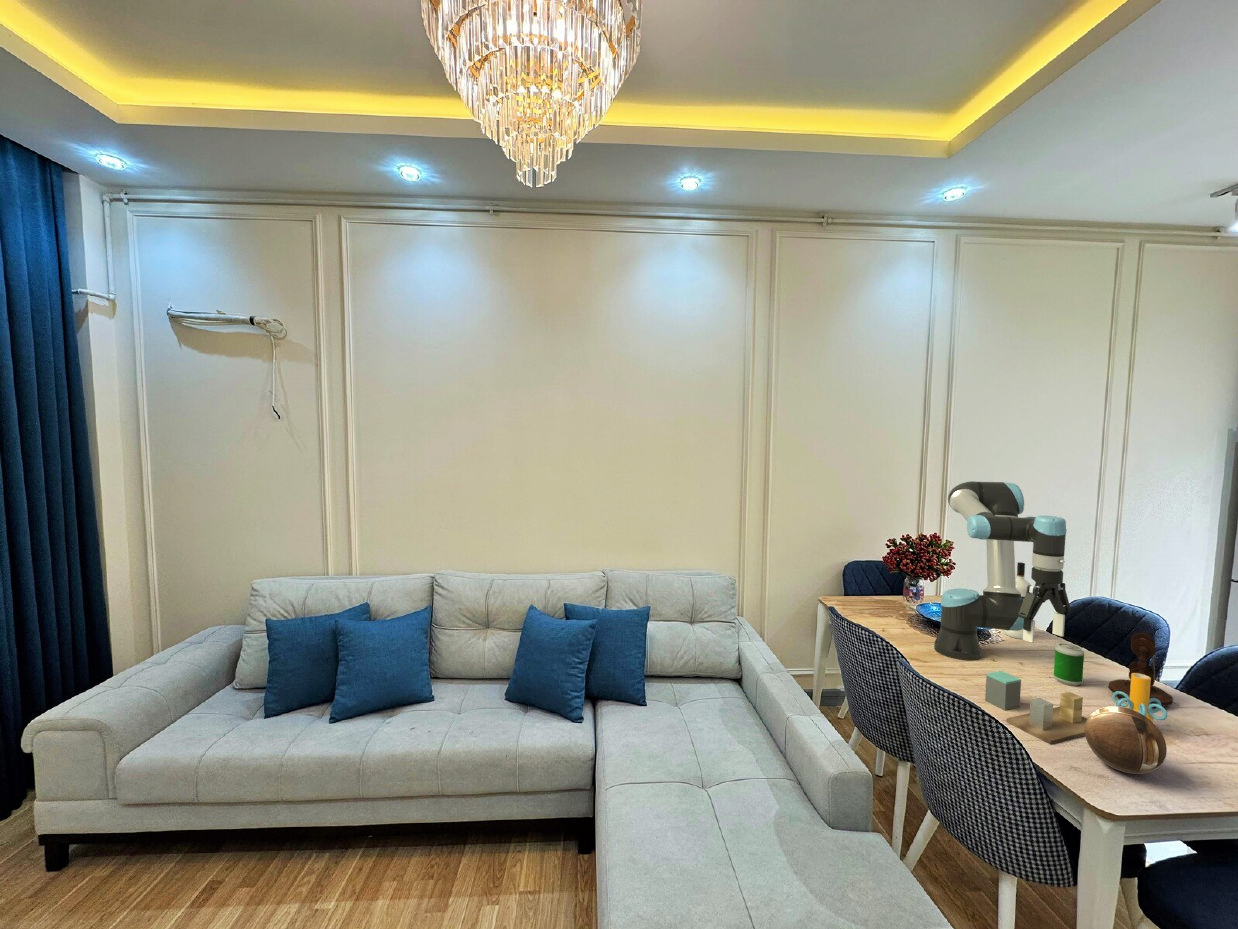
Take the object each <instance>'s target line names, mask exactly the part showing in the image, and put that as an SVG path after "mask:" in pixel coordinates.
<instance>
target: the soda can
mask: <svg viewBox="0 0 1238 929" xmlns="http://www.w3.org/2000/svg"><path fill="white" fill-rule="evenodd" d="M1084 660H1085V651H1084V650H1083V649H1082V648H1081V647H1080V646H1078V645H1075V644H1071V643H1065V642H1064V643H1063V642H1062V643H1058V644H1057V645H1055V646H1054V660H1053V661H1054V662H1053V678H1054V679H1055V680H1056V681H1057V683H1060V684H1062V685H1065V686H1069V687H1070V686H1072V687H1077V686H1079V685H1081V684H1083V676H1084V675H1083V674H1084V662H1085V661H1084Z"/></svg>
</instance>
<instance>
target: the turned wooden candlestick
mask: <svg viewBox="0 0 1238 929" xmlns="http://www.w3.org/2000/svg"><path fill="white" fill-rule="evenodd" d="M1130 642H1131V643H1130V650H1131V652H1132V653H1133V654H1135V655H1136V657H1137V658H1138V661H1133V662H1130V664H1129V665H1128V670H1129V671H1128V678H1129V679H1121V678H1120V679H1114V680H1111V681H1109V682H1108V683H1107V684H1108V686H1107V688H1108V690H1109V691H1110V692H1112V694H1113V693H1114V692H1116V691H1121V692H1124V693H1125V694H1127V695H1128V696H1129V698H1130V685H1131V674H1132V673H1139V674H1143V675H1146V676H1149V677H1150V678H1151V683H1150V697H1149V699H1151V698H1156V699H1158V700H1159V701H1160V702H1161V706H1162V707H1163V708H1165V707H1166V706H1171V705H1173V703H1174V697H1173V696H1172V695H1171V694H1170V693H1168V692H1167V691H1166V690H1164V689H1161V688H1160V687H1157V686H1155V685H1154V684H1155V681H1156V671H1155V670H1156V668H1155V659H1154V656H1155V654H1156V652H1157V647H1156V641H1155V639H1154V638H1153V636H1151V635H1149V634H1147V633H1144V632H1136V633H1134V634H1133V635H1132V636H1131V638H1130ZM1150 658H1152V666H1153V668H1152V666H1151V665H1150V664H1148V663H1147V662H1146V661H1147V660H1149V659H1150ZM1122 698H1126V697H1125V696H1124V695H1122V694H1117V695H1116V699H1118V700H1120V699H1122ZM1150 704H1157V702H1156V701H1152V702H1151V703H1150ZM1150 704H1149V705H1150ZM1160 710H1161V709H1160ZM1160 710H1159V711H1160ZM1161 711H1162V710H1161Z"/></svg>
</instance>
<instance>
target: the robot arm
mask: <svg viewBox="0 0 1238 929" xmlns="http://www.w3.org/2000/svg"><path fill="white" fill-rule="evenodd" d="M1022 491H1023V490H1022V489H1021V488H1020V486H1019V485H1018V484H1016V483H1013V482H1004V481H965V482H961V483H959V484H958V485H955V486H954V487H953V488H952V489H951V490H949V493H948V497H947V503H948V505H949V507H950V508H951V509H952V510H953V511H954V512H956V513H957V514H960V515H961V516H962V517H963V518H964V519H965V521H966V532H967V535H968V537H970V539H971V538H972V539H975V540H976V539H978V540H981V541H982V540H986V545H985V546H986V574H987V575H986V576H987V586H986V587H985V588H984V589H982V594H980V593H979V591H977V590H975V589H968V588H951V589H948V590H945V591H944V592H943V593H942V595H941V596H942V597H941V602H940V606H941V610H940V629H939V632H938V633H937V635H936V638H935V640H934V646H933V648H934V650H935V651H936V652H937V653H939V654H940V655H943V656H946V657H949V658H952V659H956V660H957V659H958V660H965V661H974V660H980V659H981V658H982V648H981V645H980V642H979V638H978V628H983V629H990V630H991V629H993V630H994V629H995V630H1002V631H1003V630H1007V631H1009V630H1013V631H1019V630H1022V629H1023V639H1022V640H1023V641H1026V642H1030V643H1035V630H1036V620H1035V619H1034V618H1035V616H1036V615H1037V614H1038V613H1039V610H1040V608H1041V607H1042V605H1043V603H1046V601H1049V602H1050V603H1051V605H1052V607H1053V609H1054V610H1055V611H1054V612H1053V618H1052V635H1053V634H1054V635H1056V636H1059V637H1064V636H1065V634H1064V633H1065V621H1066V620H1065V619H1066V616H1070V612H1071V611H1072V608H1071V606H1070V602H1069V598H1068V594H1067V591H1066V583H1065V582H1064V571H1063V570H1064V564H1065V549H1066V536H1067V535H1066V534H1067V531H1068V530H1067V521H1066V519H1065V518H1063V517H1061V516H1054V515H1037V516H1032V515H1031V516H1025V517H1019V515H1022V514H1023V512H1024V510H1025V499H1024V495H1023V492H1022ZM1015 542H1027V543H1032V557H1031V565H1032V566H1033V567H1031V574H1030V575H1031V577H1030V578H1031V580H1032V581H1034V583H1035V584H1034V585H1032V586H1030V585H1028V586H1027V592H1026V595H1025V598H1024V599H1023V598H1021V593H1020V592H1019V591H1018V590H1017V589H1016V581H1015V579H1016V560H1015V558H1016V557H1015Z"/></svg>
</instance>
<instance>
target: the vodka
mask: <svg viewBox="0 0 1238 929" xmlns="http://www.w3.org/2000/svg"><path fill="white" fill-rule="evenodd" d="M1016 564H1017V565H1016V566H1017V567H1016V575H1015V581H1016V589H1017V590H1018V591H1019V592H1020V593H1021V598H1023V599H1024V598H1025V595H1026V592H1027V586H1028V585H1030V586H1033V585H1032V584H1031V583H1030V582H1028V580H1026V579H1025V574H1026V571H1025V570H1026V563H1025V562H1021V561H1019V562H1016ZM1002 631H1003V633H1004V635H1006V636H1008V637H1010V638H1013V639H1018V640H1023V629H1022V630H1019V631H1013V630H1009V631H1007V630H1002Z"/></svg>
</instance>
